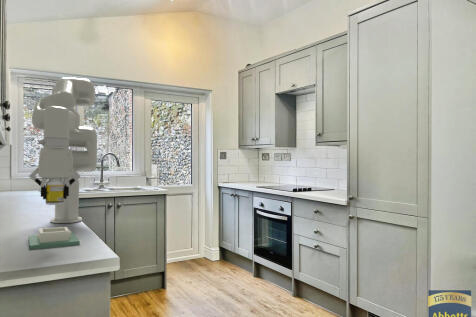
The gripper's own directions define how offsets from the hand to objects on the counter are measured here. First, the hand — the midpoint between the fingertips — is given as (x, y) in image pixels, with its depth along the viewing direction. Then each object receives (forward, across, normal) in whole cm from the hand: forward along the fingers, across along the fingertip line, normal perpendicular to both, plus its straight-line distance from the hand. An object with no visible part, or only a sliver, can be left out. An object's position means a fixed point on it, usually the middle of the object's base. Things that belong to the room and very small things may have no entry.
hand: (54, 198), depth 117 cm
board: (+15, 0, +2) cm, 15 cm away
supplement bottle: (+2, 0, 0) cm, 2 cm away
